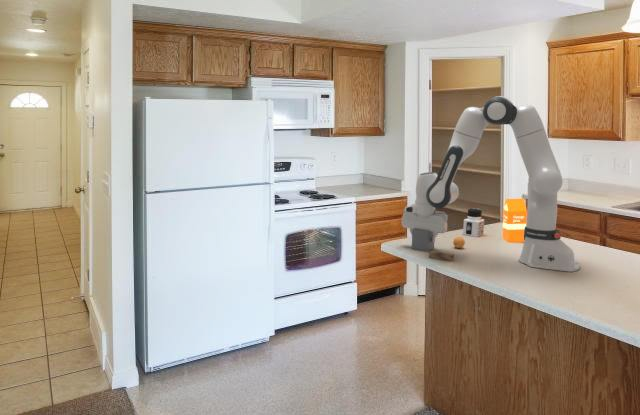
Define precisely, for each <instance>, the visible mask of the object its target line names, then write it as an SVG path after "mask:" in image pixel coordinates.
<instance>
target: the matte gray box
mask: <svg viewBox="0 0 640 415" xmlns="http://www.w3.org/2000/svg"><path fill="white" fill-rule="evenodd" d="M434 235H435V234H433V232H430V231H428V230H421V229H413V231H412V234H411V249H412V250H415V251H423V252H429V251H432V250H433V249H435V242H431V241H430V240H431V238H432V237H433V236H434Z"/></svg>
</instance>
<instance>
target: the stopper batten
mask: <svg viewBox="0 0 640 415" xmlns="http://www.w3.org/2000/svg"><path fill="white" fill-rule="evenodd" d="M428 258H431V259H435V260H442V261H447V262H454V261H455V254H454V253H448V252H442V251H437V250H429V251H428Z"/></svg>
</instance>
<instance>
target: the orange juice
mask: <svg viewBox="0 0 640 415" xmlns="http://www.w3.org/2000/svg"><path fill="white" fill-rule="evenodd" d="M503 205H504V206H503V207H502V208H503V209H502V239H503V240H504V241H505V242H507V243H524V229H525V226H526V219H527V206H526V201H525V198H505V201H504V204H503Z"/></svg>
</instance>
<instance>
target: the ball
mask: <svg viewBox="0 0 640 415" xmlns="http://www.w3.org/2000/svg"><path fill="white" fill-rule="evenodd" d="M465 243H466V242H465V239H464V237H461V236H457V237H455V238H453V242H452V244H453V247H455V248H457V249H462V248H464V246H465Z"/></svg>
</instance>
